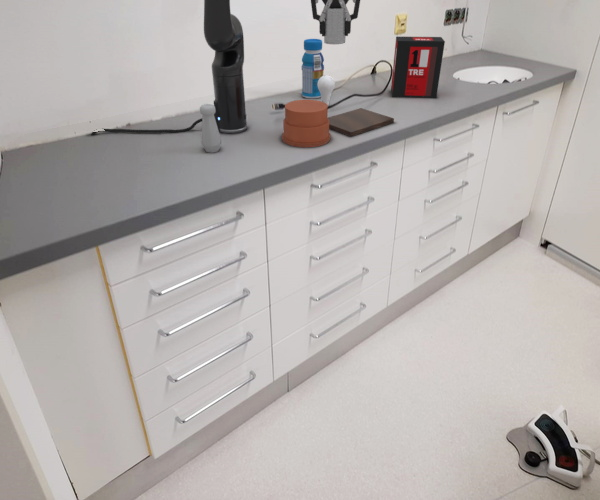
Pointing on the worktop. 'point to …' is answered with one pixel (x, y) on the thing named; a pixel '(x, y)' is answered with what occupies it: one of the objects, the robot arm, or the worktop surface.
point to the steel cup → (334, 26)
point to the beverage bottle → (312, 68)
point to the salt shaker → (209, 129)
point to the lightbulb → (326, 88)
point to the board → (358, 122)
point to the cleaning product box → (417, 67)
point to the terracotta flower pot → (306, 123)
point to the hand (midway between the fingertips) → (334, 35)
